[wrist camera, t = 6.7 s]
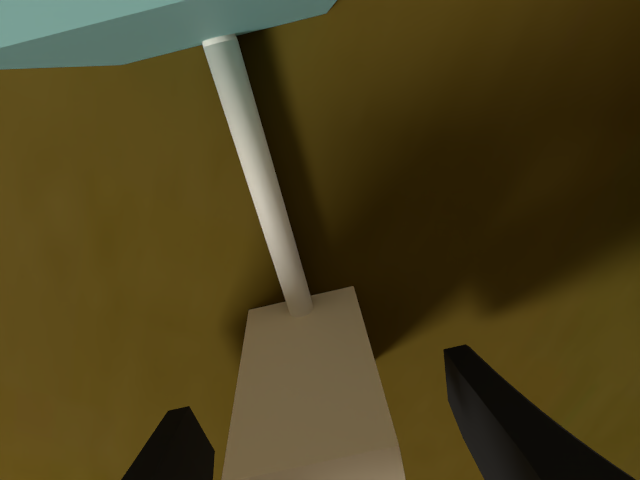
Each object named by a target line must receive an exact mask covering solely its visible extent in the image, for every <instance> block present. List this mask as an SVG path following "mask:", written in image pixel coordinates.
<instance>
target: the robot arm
mask: <svg viewBox="0 0 640 480" xmlns="http://www.w3.org/2000/svg"><path fill="white" fill-rule="evenodd" d="M444 360H445V371H446V382H447V393H448V401H449V404H450V406H451V409H452V411H453V414H454V417H455V419H456V422H457V424H458V426H459V429H460V431H461V434H462V436H463V439H464V441H465V443H466V445H467V446H468V448H469V450H470V452H471V454H472V456H473V458H474V460H475V462H476V464H477V466H478V468H479V470H480V472H481V474H482V476H483V477H484V479H485V480H636V479H634V478H633V477H631V476H630V475H628V474H627V473H625V472H624V471H622V470H621V469H619V468H618V467H616V466H615V465H613V464H612V463H611V462H609V461H608V460H606V459H605V458H603V457H602V456H601V455H599V454H598V453H596V452H595V451H594V450H592V449H591V448H589V447H588V446H587V445H585V444H584V443H583V442H581V441H580V440H579V439H577V438H576V437H575V436H573V435H572V434H571V433H569V432H568V431H567V430H565V429H564V428H563V427H561V426H560V425H559V424H557V423H556V422H555V421H554V420H552V419H551V418H550V417H549V416H547V415H546V414H545V413H544V412H542V411H541V410H540V409H539V408H538V407H536V406H535V405H534V404H533V403H532V402H530V401H529V400H528V399H527V398H525V397H524V396H523V395H522V394H521V393H519V392H518V391H517V390H516V389H515V388H514V387H513V386H511V385H510V384H509V383H508V382H507V381H506V380H505V379H503V378H502V377H501V376H500V375H499V374H498V373H497V372H496V371H495V370H493V369H492V368H491V367H490V366H489V365H488V364H487V363H486V362H485V361H484V360H483V359H482V358H481V357H480V356H478V355H477V354H476V353H475V352H474V351H473V350H472V349H471V348H470V347H469V346H467V345H461V346H457V347H452V348H448V349H444ZM214 454H215V451H214V449H213V447H212V446H211V444H210V442H209V440H208V439H207V437H206V435H205V433H204V432H203V430H202V428H201V426H200V425H199V423H198V421H197V419H196V417H195V416H194V414H193V412H192V410H191V409H190V407H189V406H188V407H183V408H179V409H174V410H170V411H168V412H167V413H166V415H165V416H164V418H163V419H162V421H161V422H160V423H159V425H158V426H157V428H156V429H155V431H154V432H153V434H152V435H151V437H150V438H149V440H148V441H147V443H146V444H145V446H144V447H143V449H142V450H141V452H140V453H139V455H138V456H137V458H136V459H135V461H134V462H133V463H132V465H131V466H130V468H129V469H128V471H127V472H126V474H125V475H124V477H123V478H122V479H121V480H213V469H214Z"/></svg>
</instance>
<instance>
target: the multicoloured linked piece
mask: <svg viewBox="0 0 640 480" xmlns="http://www.w3.org/2000/svg"><path fill="white" fill-rule="evenodd" d="M336 1H337V0H0V69H22V68H50V67H77V66H105V65H124V64H128V63H131V62H135V61H139V60H143V59H147V58H151V57H155V56H159V55H163V54H167V53H171V52H175V51H179V50H183V49H187V48H191V47H195V46H199V45H203V48H204V51H205V54H206V57H207V60H208V64H209V67H210V70H211V73H212V76H213V79H214V82H215V85H216V88H217V91H218V94H219V97H220V100H221V104H222V107H223V110H224V113H225V116H226V119H227V122H228V125H229V128H230V131H231V134H232V137H233V140H234V144H235V147H236V150H237V153H238V156H239V159H240V162H241V165H242V168H243V171H244V174H245V177H246V180H247V184H248V187H249V190H250V193H251V196H252V199H253V202H254V205H255V208H256V211H257V214H258V217H259V220H260V223H261V227H262V230H263V233H264V236H265V239H266V242H267V245H268V248H269V251H270V254H271V257H272V260H273V263H274V267H275V270H276V273H277V276H278V279H279V282H280V285H281V288H282V291H283V294H284V297H285V300H286V302H281V303H277V304H272V305H268V306H264V307H259V308H255V309H251V310H249V311H248V318H247V324H246V330H245V336H244V343H243V349H242V355H241V361H240V368H239V374H238V380H237V386H236V393H235V399H234V405H233V411H232V418H231V424H230V430H229V436H228V442H227V449H226V455H225V461H224V467H223V474H222V480H405V474H404V469H403V464H402V459H401V454H400V449H399V444H398V441H397V437H396V434H395V430H394V426H393V423H392V419H391V416H390V412H389V409H388V405H387V402H386V398H385V395H384V391H383V388H382V384H381V381H380V377H379V374H378V370H377V367H376V363H375V360H374V356H373V353H372V349H371V346H370V342H369V339H368V335H367V332H366V328H365V324H364V321H363V317H362V314H361V310H360V307H359V303H358V300H357V296H356V293H355V289H354V286H351V287H347V288H342V289H338V290H334V291H329V292H325V293H320V294H316V295H312V296H310V292H309V289H308V285H307V282H306V278H305V275H304V271H303V268H302V264H301V261H300V257H299V254H298V250H297V247H296V243H295V240H294V236H293V233H292V229H291V226H290V222H289V219H288V215H287V211H286V208H285V204H284V201H283V197H282V194H281V190H280V187H279V183H278V180H277V176H276V173H275V169H274V166H273V162H272V159H271V155H270V152H269V148H268V145H267V141H266V138H265V134H264V131H263V127H262V124H261V120H260V117H259V113H258V110H257V106H256V103H255V99H254V96H253V92H252V89H251V85H250V82H249V78H248V75H247V71H246V68H245V64H244V61H243V57H242V53H241V50H240V46H239V43H238V39H237V37H236V36H239V35H242V34H246V33H250V32H254V31H258V30H262V29H266V28H270V27H274V26H278V25H282V24H286V23H290V22H294V21H298V20H302V19H306V18H310V17H314V16H318V15H322V14H326V13H327V12H328V11H329V9H330V8H331V7H332V6H333V4H334V3H335V2H336Z"/></svg>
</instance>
